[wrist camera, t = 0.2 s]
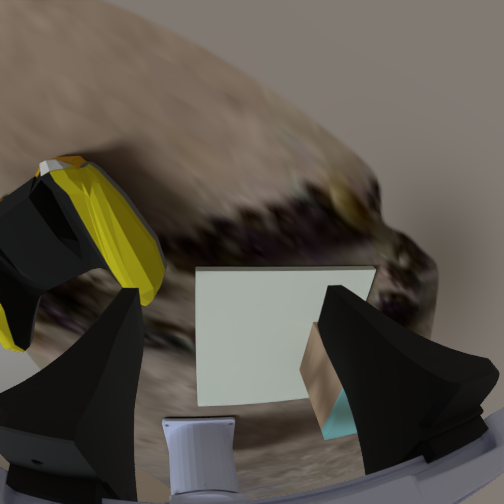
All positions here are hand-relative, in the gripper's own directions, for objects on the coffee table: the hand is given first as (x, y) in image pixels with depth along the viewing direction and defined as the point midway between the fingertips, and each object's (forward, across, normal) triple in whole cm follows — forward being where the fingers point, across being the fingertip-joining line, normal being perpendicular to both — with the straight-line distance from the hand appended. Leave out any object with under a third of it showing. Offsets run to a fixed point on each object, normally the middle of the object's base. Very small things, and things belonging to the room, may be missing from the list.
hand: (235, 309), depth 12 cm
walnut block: (+9, -10, +12) cm, 18 cm away
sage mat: (+10, -6, +12) cm, 17 cm away
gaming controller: (+10, +11, +2) cm, 15 cm away
